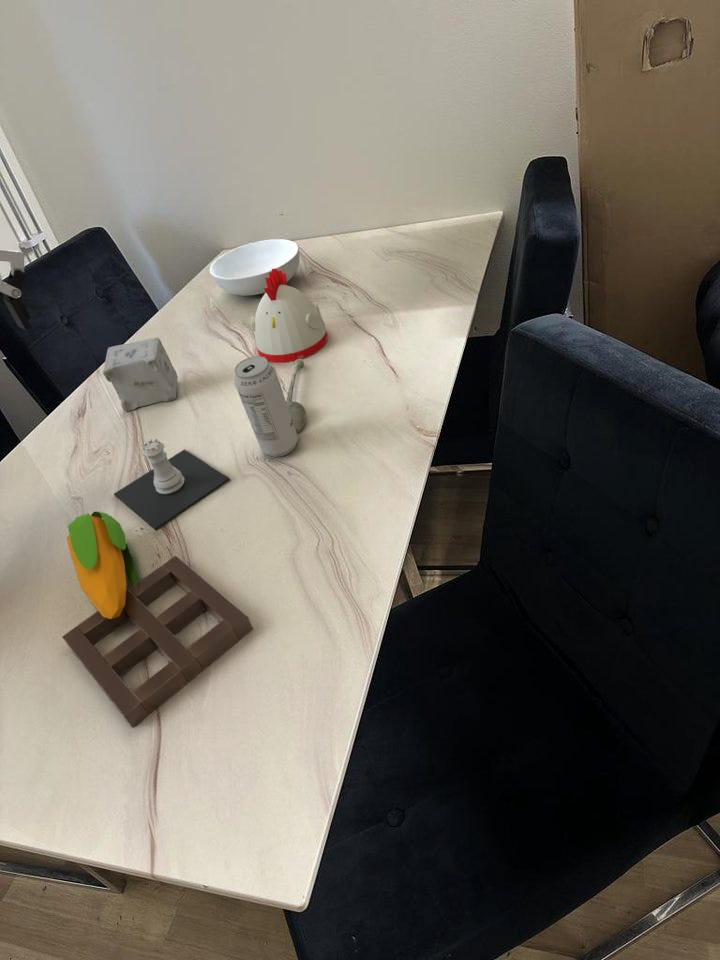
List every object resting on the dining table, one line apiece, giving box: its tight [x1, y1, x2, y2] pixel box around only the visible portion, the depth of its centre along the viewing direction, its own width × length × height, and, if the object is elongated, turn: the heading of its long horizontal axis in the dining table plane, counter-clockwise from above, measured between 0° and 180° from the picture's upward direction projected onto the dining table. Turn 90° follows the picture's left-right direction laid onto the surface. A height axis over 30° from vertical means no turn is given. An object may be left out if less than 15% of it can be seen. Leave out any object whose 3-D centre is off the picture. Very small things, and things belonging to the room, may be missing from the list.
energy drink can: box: [233, 355, 299, 458], centre depth 98 cm, size 6×6×15 cm
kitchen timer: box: [250, 268, 329, 364], centre depth 124 cm, size 14×14×15 cm
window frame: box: [62, 555, 254, 728], centre depth 77 cm, size 16×16×2 cm
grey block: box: [102, 336, 179, 413], centre depth 119 cm, size 10×8×10 cm
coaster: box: [113, 449, 231, 531], centre depth 100 cm, size 13×13×1 cm
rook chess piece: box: [141, 438, 185, 495], centre depth 97 cm, size 4×4×8 cm
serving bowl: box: [209, 238, 301, 297], centre depth 153 cm, size 21×21×7 cm
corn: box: [66, 511, 139, 619], centre depth 84 cm, size 7×8×20 cm
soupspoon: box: [285, 359, 307, 434], centre depth 112 cm, size 22×3×7 cm
